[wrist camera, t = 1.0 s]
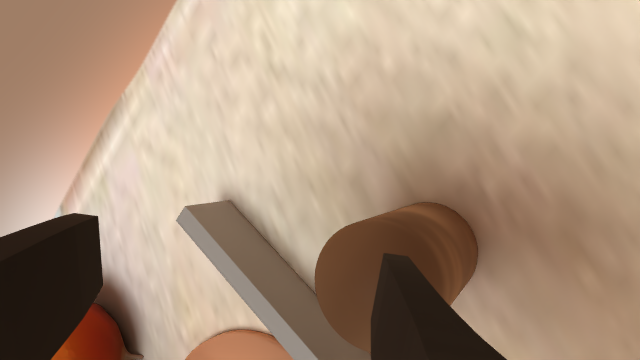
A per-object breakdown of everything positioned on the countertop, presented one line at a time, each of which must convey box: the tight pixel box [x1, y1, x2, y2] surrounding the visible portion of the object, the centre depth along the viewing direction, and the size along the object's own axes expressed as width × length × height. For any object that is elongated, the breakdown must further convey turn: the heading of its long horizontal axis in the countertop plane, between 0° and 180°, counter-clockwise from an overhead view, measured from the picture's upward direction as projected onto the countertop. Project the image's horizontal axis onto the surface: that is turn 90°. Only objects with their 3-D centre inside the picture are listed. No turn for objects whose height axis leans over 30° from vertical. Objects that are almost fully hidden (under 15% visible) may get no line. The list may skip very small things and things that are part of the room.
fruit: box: [51, 303, 144, 360], centre depth 30 cm, size 8×8×8 cm
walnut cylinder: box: [315, 202, 478, 353], centre depth 18 cm, size 4×4×7 cm
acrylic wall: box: [176, 201, 371, 360], centre depth 22 cm, size 20×1×4 cm, turn 51°
